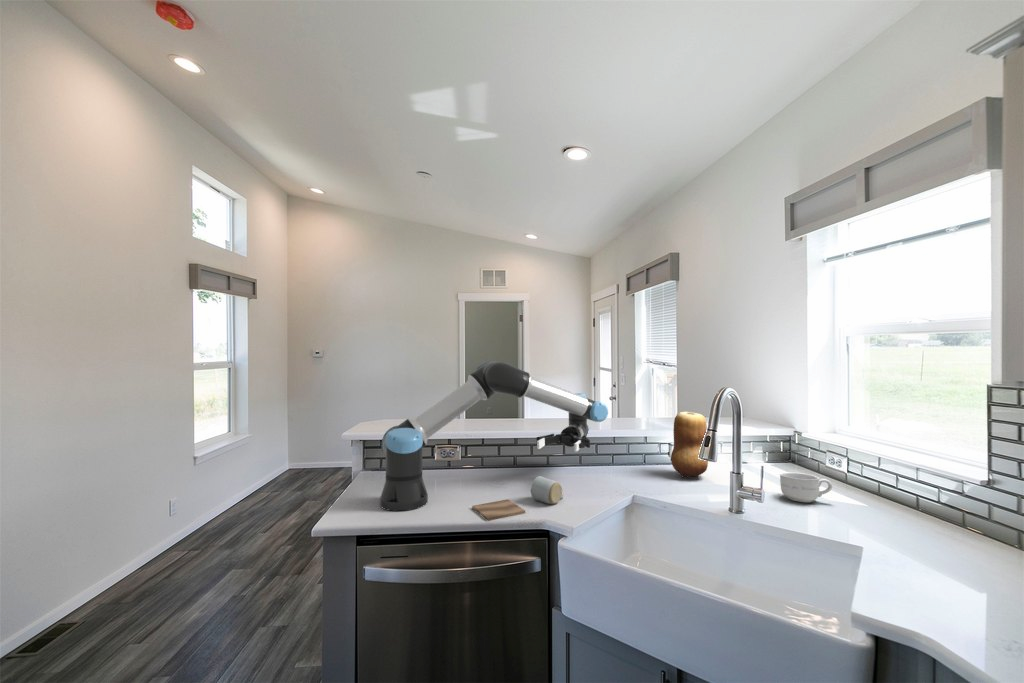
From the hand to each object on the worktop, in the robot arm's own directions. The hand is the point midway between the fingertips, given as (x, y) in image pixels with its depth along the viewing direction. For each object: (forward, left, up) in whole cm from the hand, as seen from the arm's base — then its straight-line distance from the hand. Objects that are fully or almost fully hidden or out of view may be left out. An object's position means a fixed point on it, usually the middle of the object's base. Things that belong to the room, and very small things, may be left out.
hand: (556, 446), depth 151 cm
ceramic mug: (+6, -7, -16) cm, 19 cm away
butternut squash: (+9, +55, -16) cm, 58 cm away
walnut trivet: (+6, -26, -16) cm, 31 cm away
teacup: (+46, +65, -16) cm, 82 cm away
